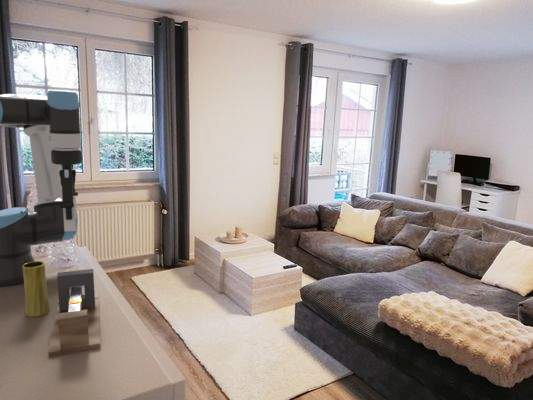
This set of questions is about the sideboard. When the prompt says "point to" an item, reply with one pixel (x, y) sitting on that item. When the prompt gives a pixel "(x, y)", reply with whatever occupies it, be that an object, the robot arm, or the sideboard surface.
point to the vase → (35, 289)
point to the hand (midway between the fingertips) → (71, 224)
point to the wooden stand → (75, 330)
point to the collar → (74, 280)
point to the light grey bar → (75, 299)
